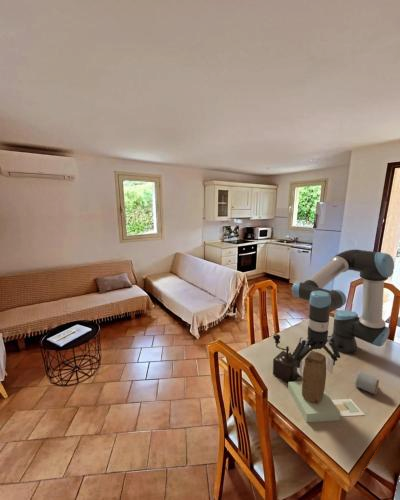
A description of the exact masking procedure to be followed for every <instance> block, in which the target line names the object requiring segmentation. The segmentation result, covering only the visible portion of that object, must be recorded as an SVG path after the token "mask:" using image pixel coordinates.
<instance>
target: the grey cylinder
mask: <svg viewBox="0 0 400 500" xmlns="http://www.w3.org/2000/svg"><path fill="white" fill-rule="evenodd" d="M356 375H357V376H356V381H355V387H356V388H359V389H361V390H364V391H365V392H368V393H370V394H373V395H377V392H378V388H379V385H380V384H379V383H380V381H379V379H378V378H377V377H375V376H372V375H370V374H369V373H366V372H364V371H362V370H358V373H357V374H356Z"/></svg>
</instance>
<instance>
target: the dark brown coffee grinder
mask: <svg viewBox="0 0 400 500" xmlns="http://www.w3.org/2000/svg"><path fill="white" fill-rule="evenodd" d="M272 338H273V340H274V343H275V347H276V348H277V349H279V350H282V351H281V352H280V353H278V354H277V355H275V357H274V358H273V361H272V362H273V363H272V366H273V367H272V375H273V376H274V377H276V378H278V379H279V380H280V381H283V382H284V383H287V384H288V382H297V381H298V378H299V377H301V376H300V375H299V373H298V372H297V366H296V361H294V359H293V358H292V354H293V353H292V352H289V351H290V348H289V347H290V346H288V345H287V346H286V347H285V348H283V347H280V346H279V344H280V343H281V341H280V340H281V335H280V334H278V333H274V334H273V336H272Z"/></svg>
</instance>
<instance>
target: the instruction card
mask: <svg viewBox="0 0 400 500" xmlns="http://www.w3.org/2000/svg"><path fill="white" fill-rule="evenodd" d="M331 400H332V402H333V403H334V404H335V406H336V407H337V408H338V410H339V411H340V417H342V418H344V417H358V416H365V413H364V412H363V410H361V409H360V408H359V406H357V404H356V403H355V402H354V401H353V400H352V398H343V399H342V398H339V399H331Z"/></svg>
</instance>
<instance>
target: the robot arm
mask: <svg viewBox="0 0 400 500" xmlns="http://www.w3.org/2000/svg"><path fill="white" fill-rule="evenodd" d="M394 270H395V261H394V258H393V256H391V254H389V253H386V252H381V251H370V250H365V249H363V250H362V249H348V250H344V251H342V252H340V253H337V254H335V255H334V256H333V257H331V258H330V261H329V262H328V263H327V264H325V265H324V266H323V267H322V268H320V269H319V270H317V272H315V273H314V274H313V275H311V276H310V277H309V278H308V279H306V280H305V281H303V282H302V281H295V282H293V284H292V286H291V294H292V295H293V296H294V297H295V298H296V297H297V298H299V299H301V300H305V301H306V302H309V303H308V304H309V305H308V306H309V308H308V321H307V338H303V337H300V338H299V341H298V343H297V346H296V347H295V349H294V351H293V352H292V353H291V354H292V358H293V359H294V361H296V366H297V372H298V373H299V375H300V376H299V377H301V376H302V377H303V364H304V363H303V361H302V360H303V359H305V358H306V357H307V355H308V354H309V353H310V352H311V351H314V350H322V348H323V350H324V351H326V353H327V354H328V357H327V362H326V371H328V372H329V374H333V371H334V366H335V365H336V361H338V359H340V358H341V354H340V353H342V354H348V355H353V354H357V352H358V343H357V340H356V338H357V339H359V340H362V341H364V342H366V343H367V344H368V343H369V344H370V345H374V346H376V347H382V346H384V344H385V343H386V342H387V340H388V338H389V336H390V333H391V332H390V331H391V330H390V327H388V326H386V321H385V320H384V319H383V308H384V307H383V305H384V285H385V281H387V280H388V279H389V278H391V277H392V276H393V274H394ZM347 271H354V272H359V277H360V278H361V279H362V280H363V282H362V312H361V313H362V315H360V317H359V315H358V313H357V312H356V311H352V310H347V309H346V310H345V309H342V310H338V309H341V308H342V307H343V306H344V305H345V304H347V296H346V294H345V293H344V292H343V291H341V290H340V289H331V290H330V289H329V290H328V289H325V287H326V286H328V284H329V283H331V282H332V281H334V279H336V278H337V277H338V276H339V275H340V274H341V273H345V272H347ZM336 310H337V311H336ZM333 311H336V312H335V313H334V317H333V329H332V334H331V335H329V324H330V315H331V312H333ZM326 344H328V345H329V347H330V348H331V350H332V351H331V350H330V349H329V347H327V345H326Z"/></svg>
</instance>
